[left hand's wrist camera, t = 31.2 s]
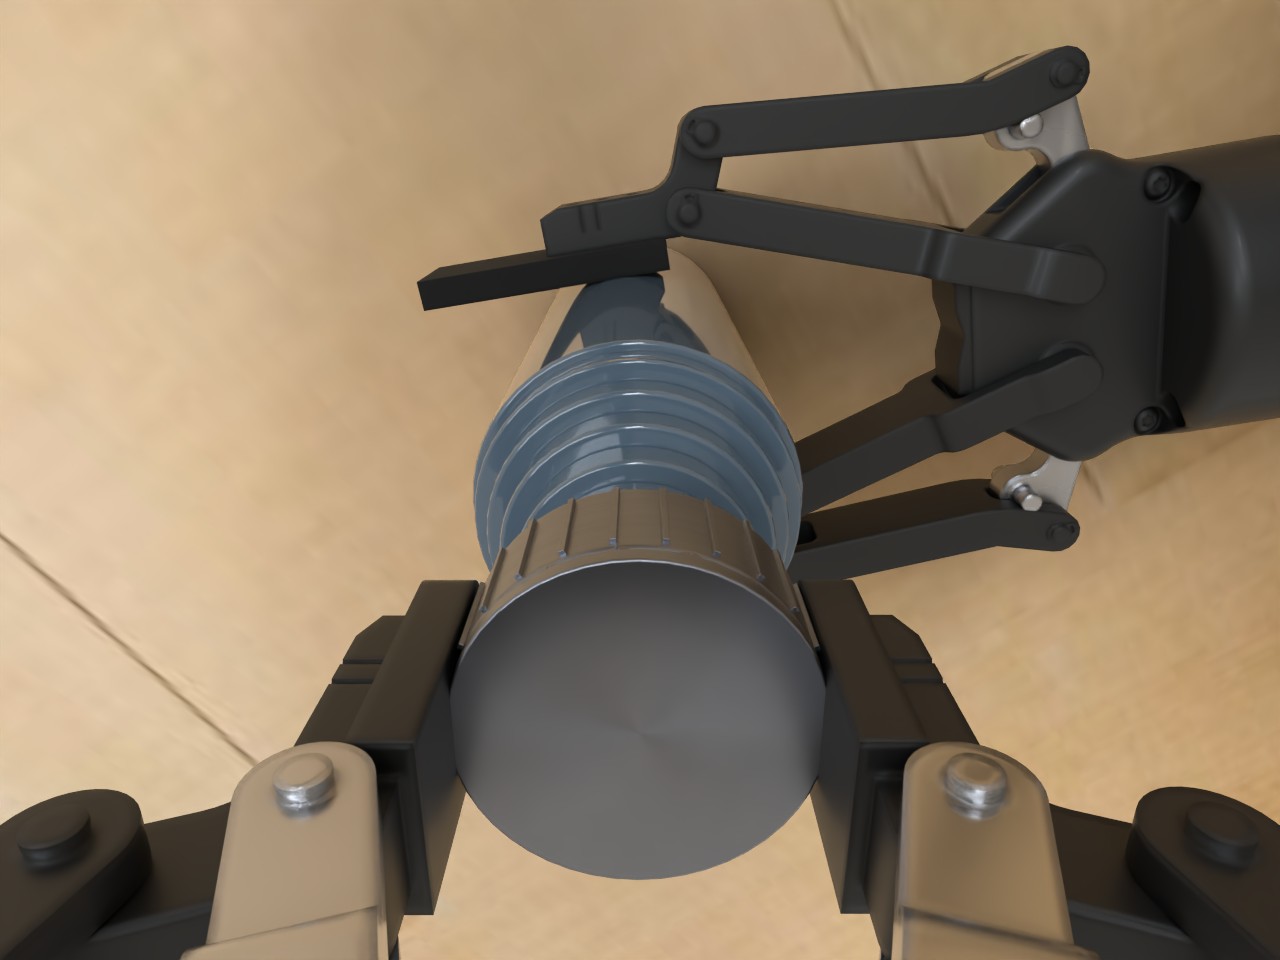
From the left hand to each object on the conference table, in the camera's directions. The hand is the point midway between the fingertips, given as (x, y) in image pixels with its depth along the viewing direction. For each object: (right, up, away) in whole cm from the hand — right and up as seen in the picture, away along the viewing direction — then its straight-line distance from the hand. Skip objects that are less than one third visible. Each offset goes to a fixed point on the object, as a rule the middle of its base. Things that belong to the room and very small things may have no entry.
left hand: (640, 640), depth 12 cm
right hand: (-5, +4, +13) cm, 15 cm away
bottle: (0, +8, +19) cm, 20 cm away
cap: (0, -1, -2) cm, 2 cm away
